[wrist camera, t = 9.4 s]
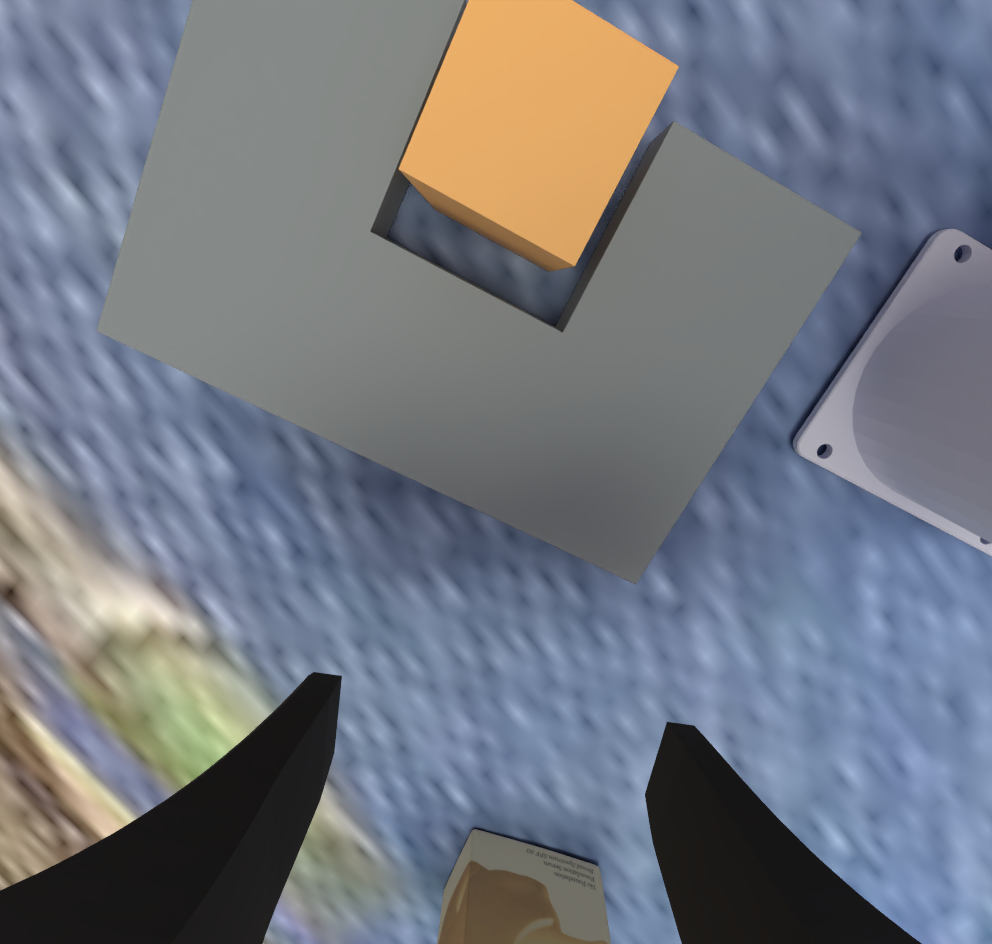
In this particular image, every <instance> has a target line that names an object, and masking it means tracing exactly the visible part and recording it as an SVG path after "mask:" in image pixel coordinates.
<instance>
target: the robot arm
mask: <svg viewBox="0 0 992 944" xmlns="http://www.w3.org/2000/svg"><path fill="white" fill-rule="evenodd" d="M958 247H960V248H961V249H962V256H961V258H960V259H959V260H958V261H957V262H956V260H955V259H954V253H955V251H956V249H957V248H958ZM823 444H826V446H827V448H826V451H825V452H824V453H823V454H822V455H819V456H817V450H818V448H819V447H820V446H821V445H823ZM793 448H794V450H795V452H796V453H797V454H799V455H800V456H802V457H804V458H806V459H808V460H809V461H811V462H813V463H815V464H817V465H819V466H821V467H823V468H825V469H827V470H828V471H830V472H832V473H834V474H836V475H838V476H840V477H842V478H844V479H846V480H847V481H849V482H851V483H853V484H855V485H857V486H859V487H861V488H863V489H865V490H867V491H868V492H870V493H872V494H874V495H876V496H878V497H880V498H882V499H884V500H886V501H887V502H889V503H891V504H893V505H895V506H897V507H899V508H901V509H903V510H905V511H907V512H908V513H910V514H912V515H914V516H916V517H918V518H920V519H922V520H924V521H926V522H927V523H929V524H931V525H933V526H935V527H937V528H939V529H941V530H943V531H945V532H947V533H948V534H950V535H952V536H954V537H956V538H958V539H960V540H962V541H964V542H966V543H967V544H969V545H971V546H973V547H975V548H977V549H979V550H981V551H983V552H985V553H986V554H988V555H990V556H992V250H991V249H989V248H988V247H986V246H984V245H983V244H981V243H980V242H978V241H976V240H975V239H973V238H971V237H970V236H968V235H966V234H965V233H963V232H962V231H960V230H957V229H945V230H940V231H938V232H936V233H934V234H933V235H932V236H931V237H930V238H929V240H928V241H927V243H926V244H925V245H924V247H923V248H922V250H921V251H920V253H919V254H918V256H917V257H916V259H915V260H914V262H913V263H912V265H911V266H910V268H909V269H908V271H907V272H906V273H905V275H904V276H903V278H902V279H901V281H900V282H899V284H898V285H897V287H896V288H895V290H894V291H893V293H892V294H891V296H890V297H889V299H888V300H887V301H886V303H885V304H884V306H883V307H882V309H881V310H880V312H879V313H878V315H877V316H876V318H875V319H874V321H873V322H872V324H871V325H870V327H869V328H868V330H867V331H866V332H865V334H864V335H863V337H862V338H861V340H860V341H859V343H858V344H857V346H856V347H855V349H854V350H853V352H852V353H851V355H850V356H849V358H848V359H847V360H846V362H845V363H844V365H843V366H842V368H841V369H840V371H839V372H838V374H837V375H836V377H835V378H834V380H833V381H832V383H831V384H830V386H829V387H828V389H827V390H826V391H825V393H824V394H823V396H822V397H821V399H820V400H819V402H818V403H817V405H816V406H815V408H814V409H813V411H812V412H811V414H810V415H809V417H808V418H807V419H806V421H805V422H804V424H803V425H802V427H801V428H800V430H799V431H798V433H797V434H796V436H795V438H794V440H793ZM980 537H981V538H982V539H980ZM341 679H342V676H338V675H330V674H323V673H316V672H313V673H312V674H310V675H309V676H307V678H306V679H305V680H304V681H303V682H302V683H301V684H300V685H299V686H298V687H297V688H296V689H295V690H294V692H293V693H292V694H291V695H290V696H289V697H288V698H287V699H286V700H285V701H284V702H283V703H282V704H281V705H280V706H279V707H278V708H277V709H276V710H275V711H274V712H273V713H272V714H271V715H269V716H268V717H267V718H266V719H265V720H264V721H263V722H262V723H261V724H260V725H259V726H258V727H257V728H256V729H254V730H253V731H252V732H251V733H250V734H249V735H248V736H247V737H246V738H245V739H243V740H242V741H241V742H240V743H239V744H238V745H236V746H235V747H234V748H233V749H232V750H230V751H229V752H228V753H227V754H226V755H224V756H223V757H222V758H221V759H220V760H219V761H217V762H216V763H215V764H214V765H212V766H211V767H210V768H209V769H207V770H206V771H205V772H204V773H202V774H201V775H200V776H198V777H197V778H196V779H194V780H193V781H192V782H190V783H189V784H188V785H186V786H185V787H183V788H182V789H181V790H179V791H178V792H176V793H175V794H174V795H172V796H171V797H169V798H168V799H166V800H165V801H164V802H162V803H160V804H159V805H157V806H156V807H154V808H153V809H151V810H150V811H148V812H147V813H145V814H144V815H142V816H141V817H139V818H138V819H136V820H134V821H133V822H131V823H130V824H128V825H126V826H125V827H123V828H121V829H120V830H118V831H116V832H115V833H113V834H111V835H110V836H108V837H106V838H104V839H102V840H101V841H99V842H97V843H95V844H93V845H92V846H90V847H88V848H86V849H84V850H83V851H81V852H79V853H77V854H75V855H73V856H71V857H69V858H68V859H66V860H64V861H62V862H60V863H58V864H56V865H54V866H52V867H50V868H48V869H46V870H44V871H42V872H40V873H38V874H36V875H33V876H31V877H29V878H27V879H25V880H23V881H20V882H18V883H16V884H14V885H12V886H9V887H7V888H5V889H3V890H1V891H0V944H262V943H263V940H264V937H265V934H266V931H267V929H268V926H269V923H270V921H271V918H272V915H273V913H274V910H275V907H276V905H277V903H278V900H279V898H280V895H281V893H282V891H283V888H284V886H285V883H286V881H287V879H288V876H289V874H290V871H291V869H292V867H293V864H294V862H295V859H296V857H297V855H298V852H299V850H300V848H301V845H302V843H303V840H304V838H305V835H306V833H307V831H308V828H309V826H310V823H311V821H312V818H313V816H314V814H315V811H316V809H317V806H318V804H319V801H320V799H321V795H322V792H323V789H324V785H325V782H326V779H327V775H328V772H329V769H330V765H331V762H332V758H333V755H334V749H335V739H336V729H337V719H338V709H339V699H340V689H341ZM645 797H646V804H647V810H648V817H649V823H650V829H651V834H652V840H653V845H654V848H655V852H656V856H657V859H658V863H659V866H660V870H661V873H662V877H663V881H664V884H665V887H666V891H667V894H668V898H669V901H670V905H671V908H672V911H673V915H674V918H675V922H676V925H677V929H678V932H679V935H680V939H681V942H682V944H921V943H920V942H919V941H917V940H916V939H915V938H913V937H912V936H911V935H909V934H908V933H907V932H905V931H904V930H903V929H902V928H900V927H899V926H898V925H897V924H895V923H894V922H893V921H891V920H890V919H889V918H888V917H886V916H885V915H884V914H883V913H881V912H880V911H879V910H878V909H876V908H875V907H874V906H873V905H871V904H870V903H869V902H868V901H867V900H865V899H864V898H863V897H862V896H861V895H859V894H858V893H857V892H856V891H855V890H853V889H852V888H851V887H850V886H849V885H848V884H847V883H846V882H844V881H843V880H842V879H841V878H840V877H839V876H838V875H837V874H835V873H834V872H833V871H832V870H831V869H830V868H829V867H828V866H826V865H825V864H824V863H823V862H822V861H821V860H820V859H819V858H818V857H817V856H816V855H814V854H813V853H812V852H811V851H810V850H809V849H808V848H807V847H806V846H805V845H804V844H803V843H802V842H801V841H800V840H799V839H798V838H797V837H796V836H795V835H794V834H793V833H792V832H791V831H790V830H789V829H788V828H787V827H786V826H785V825H784V824H783V823H782V822H781V821H780V820H779V819H778V818H777V817H776V816H775V815H774V814H773V813H772V811H771V810H770V809H769V808H768V807H767V806H766V805H765V804H764V803H763V802H762V801H761V800H760V799H759V798H758V796H757V795H756V794H755V793H754V792H753V791H752V790H751V789H750V788H749V787H748V785H747V784H746V783H745V782H744V781H743V780H742V779H741V778H740V777H739V775H738V774H737V773H736V772H735V771H734V770H733V769H732V767H731V766H730V765H729V764H728V763H727V762H726V761H725V760H724V758H723V757H722V756H721V755H720V754H719V753H718V752H717V750H716V749H715V748H714V747H713V746H712V745H711V744H710V742H709V741H708V740H707V739H706V738H705V737H704V736H703V735H702V734H701V733H700V731H699V730H698V729H697V728H696V727H695V726H693V725H686V724H679V723H671V722H667V724H666V727H665V730H664V734H663V737H662V740H661V744H660V747H659V750H658V753H657V757H656V760H655V763H654V767H653V770H652V773H651V776H650V780H649V783H648V786H647V790H646V793H645Z"/></svg>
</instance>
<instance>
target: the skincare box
mask: <svg viewBox="0 0 992 944" xmlns="http://www.w3.org/2000/svg"><path fill="white" fill-rule="evenodd" d="M437 944H611V942H610V935H609V927H608V920H607V913H606V906H605V899H604V893H603V886H602V879H601V872H600V869H599V867H598V866H596V865H594V864H591V863H588V862H585V861H581V860H578V859H575V858H572V857H569V856H566V855H563V854H560V853H556V852H553V851H550V850H547V849H543V848H540V847H537V846H534V845H530V844H527V843H523V842H520V841H516V840H513V839H509V838H506V837H502V836H498V835H495V834H492V833H488V832H484V831H481V830H477V829H474V830H472V831H471V833H470V836H469V838H468V840H467V842H466V844H465V846H464V848H463V849H462V852H461V854H460V856H459V858H458V860H457V862H456V864H455V866H454V869H453V871H452V873H451V875H450V877H449V880H448V882H447V884H446V887H445V889H444V892H443V900H442V909H441V917H440V926H439V934H438V941H437Z"/></svg>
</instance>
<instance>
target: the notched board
mask: <svg viewBox="0 0 992 944" xmlns="http://www.w3.org/2000/svg"><path fill="white" fill-rule="evenodd" d="M466 6H467V4H466V0H193V1H192V4H191V8H190V11H189V15H188V18H187V22H186V25H185V29H184V32H183V35H182V39H181V42H180V46H179V49H178V53H177V56H176V60H175V63H174V66H173V70H172V73H171V77H170V80H169V84H168V87H167V91H166V94H165V97H164V101H163V104H162V108H161V111H160V115H159V118H158V122H157V125H156V128H155V132H154V135H153V139H152V142H151V146H150V149H149V153H148V156H147V159H146V163H145V166H144V170H143V173H142V177H141V180H140V183H139V187H138V190H137V194H136V197H135V201H134V204H133V208H132V211H131V214H130V218H129V221H128V225H127V228H126V232H125V235H124V239H123V242H122V245H121V249H120V252H119V256H118V259H117V263H116V266H115V270H114V273H113V276H112V280H111V283H110V287H109V290H108V294H107V297H106V301H105V304H104V307H103V311H102V314H101V318H100V321H99V325H98V328H97V332H100V333H102V334H104V335H106V336H108V337H110V338H112V339H114V340H117V341H119V342H121V343H123V344H125V345H127V346H129V347H131V348H134V349H136V350H138V351H140V352H142V353H144V354H146V355H148V356H151V357H153V358H155V359H157V360H159V361H161V362H163V363H166V364H168V365H170V366H172V367H174V368H176V369H178V370H180V371H183V372H185V373H187V374H189V375H191V376H193V377H195V378H197V379H200V380H202V381H204V382H206V383H208V384H210V385H212V386H214V387H217V388H219V389H221V390H223V391H225V392H227V393H229V394H231V395H234V396H236V397H238V398H240V399H242V400H244V401H246V402H248V403H251V404H253V405H255V406H257V407H259V408H261V409H263V410H265V411H268V412H270V413H272V414H274V415H276V416H278V417H280V418H283V419H285V420H287V421H289V422H291V423H293V424H295V425H297V426H300V427H302V428H304V429H306V430H308V431H310V432H312V433H314V434H317V435H319V436H321V437H323V438H325V439H327V440H329V441H331V442H334V443H336V444H338V445H340V446H342V447H344V448H346V449H348V450H351V451H353V452H355V453H357V454H359V455H361V456H363V457H365V458H368V459H370V460H372V461H374V462H376V463H378V464H380V465H383V466H385V467H387V468H389V469H391V470H393V471H395V472H397V473H400V474H402V475H404V476H406V477H408V478H410V479H412V480H414V481H417V482H419V483H421V484H423V485H425V486H427V487H429V488H431V489H434V490H436V491H438V492H440V493H442V494H444V495H446V496H448V497H451V498H453V499H455V500H457V501H459V502H461V503H463V504H465V505H468V506H470V507H472V508H474V509H476V510H478V511H480V512H482V513H485V514H487V515H489V516H491V517H493V518H495V519H497V520H500V521H502V522H504V523H506V524H508V525H510V526H512V527H514V528H517V529H519V530H521V531H523V532H525V533H527V534H529V535H531V536H534V537H536V538H538V539H540V540H542V541H544V542H546V543H548V544H551V545H553V546H555V547H557V548H559V549H561V550H563V551H565V552H568V553H570V554H572V555H574V556H576V557H578V558H580V559H582V560H585V561H587V562H589V563H591V564H593V565H595V566H597V567H599V568H602V569H604V570H606V571H608V572H610V573H612V574H614V575H617V576H619V577H621V578H623V579H625V580H627V581H629V582H631V583H634V584H636V583H637V582H638V580H639V578H640V577H641V575H642V574H643V572H644V571H645V569H646V568H647V566H648V565H649V563H650V561H651V560H652V558H653V557H654V555H655V554H656V552H657V551H658V549H659V547H660V546H661V544H662V543H663V541H664V540H665V538H666V537H667V535H668V533H669V532H670V530H671V529H672V527H673V526H674V524H675V523H676V521H677V519H678V518H679V516H680V515H681V513H682V512H683V510H684V509H685V507H686V506H687V504H688V502H689V501H690V499H691V498H692V496H693V495H694V493H695V492H696V490H697V488H698V487H699V485H700V484H701V482H702V481H703V479H704V478H705V476H706V474H707V473H708V471H709V470H710V468H711V467H712V465H713V464H714V462H715V460H716V459H717V457H718V456H719V454H720V453H721V451H722V450H723V448H724V446H725V445H726V443H727V442H728V440H729V439H730V437H731V436H732V434H733V433H734V431H735V429H736V428H737V426H738V425H739V423H740V422H741V420H742V419H743V417H744V415H745V414H746V412H747V411H748V409H749V408H750V406H751V405H752V403H753V401H754V400H755V398H756V397H757V395H758V394H759V392H760V391H761V389H762V387H763V386H764V384H765V383H766V381H767V380H768V378H769V377H770V375H771V374H772V372H773V370H774V369H775V367H776V366H777V364H778V363H779V361H780V360H781V358H782V356H783V355H784V353H785V352H786V350H787V349H788V347H789V346H790V344H791V342H792V341H793V339H794V338H795V336H796V335H797V333H798V332H799V330H800V328H801V327H802V325H803V324H804V322H805V321H806V319H807V318H808V316H809V315H810V313H811V311H812V310H813V308H814V307H815V305H816V304H817V302H818V301H819V299H820V297H821V296H822V294H823V293H824V291H825V290H826V288H827V287H828V285H829V283H830V282H831V280H832V279H833V277H834V276H835V274H836V273H837V271H838V269H839V268H840V266H841V265H842V263H843V262H844V260H845V259H846V257H847V256H848V254H849V252H850V251H851V249H852V248H853V246H854V245H855V243H856V242H857V240H858V238H859V237H860V235H861V234H862V233H861V232H860V231H858V230H856V229H855V228H853V227H851V226H850V225H848V224H846V223H845V222H843V221H841V220H840V219H838V218H836V217H835V216H833V215H831V214H829V213H828V212H826V211H824V210H823V209H821V208H819V207H818V206H816V205H814V204H813V203H811V202H809V201H808V200H806V199H804V198H803V197H801V196H799V195H798V194H796V193H794V192H792V191H791V190H789V189H787V188H786V187H784V186H782V185H781V184H779V183H777V182H776V181H774V180H772V179H771V178H769V177H767V176H766V175H764V174H762V173H761V172H759V171H757V170H755V169H754V168H752V167H750V166H749V165H747V164H745V163H744V162H742V161H740V160H739V159H737V158H735V157H734V156H732V155H730V154H729V153H727V152H725V151H724V150H722V149H720V148H718V147H717V146H715V145H713V144H712V143H710V142H708V141H707V140H705V139H703V138H702V137H700V136H698V135H697V134H695V133H693V132H692V131H690V130H688V129H687V128H685V127H683V126H681V125H680V124H678V123H676V122H675V121H674V122H672V123H671V124H670V125H669V126H668V127H667V128H666V129H665V130H664V131H663V132H662V133H661V134H660V135H658V136H657V137H656V138H655V139H654V140H653V141H652V142H651V143H650V145H649V147H648V149H647V151H646V153H645V155H644V157H643V158H642V160H641V162H640V164H639V166H638V168H637V170H636V172H635V174H634V176H633V178H632V180H631V182H630V183H629V185H628V187H627V189H626V191H625V193H624V195H623V197H622V199H621V201H620V203H619V205H618V207H617V208H616V210H615V212H614V214H613V216H612V218H611V220H610V222H609V224H608V226H607V228H606V230H605V232H604V233H603V235H602V237H601V239H600V241H599V243H598V245H597V247H596V249H595V251H594V253H593V255H592V256H591V258H590V260H589V262H588V264H587V266H586V268H585V270H584V272H583V274H582V276H581V278H580V280H579V281H578V283H577V285H576V287H575V289H574V291H573V293H572V295H571V297H570V299H569V301H568V303H567V305H566V306H565V308H564V310H563V312H562V314H561V316H560V318H559V320H558V322H557V324H556V326H553V325H551V324H549V323H547V322H546V321H544V320H542V319H540V318H538V317H536V316H534V315H532V314H530V313H528V312H527V311H525V310H523V309H521V308H519V307H517V306H515V305H513V304H511V303H509V302H507V301H506V300H504V299H502V298H500V297H498V296H496V295H494V294H492V293H490V292H488V291H487V290H485V289H483V288H481V287H479V286H477V285H475V284H473V283H471V282H469V281H467V280H466V279H464V278H462V277H460V276H458V275H456V274H454V273H452V272H450V271H448V270H447V269H445V268H443V267H441V266H439V265H437V264H435V263H433V262H431V261H429V260H428V259H426V258H424V257H422V256H420V255H418V254H416V253H414V252H412V251H410V250H408V249H407V248H405V247H403V246H401V245H399V244H397V243H395V242H393V241H391V240H389V239H388V238H387V236H388V234H389V231H390V229H391V227H392V224H393V222H394V219H395V217H396V215H397V212H398V210H399V207H400V205H401V203H402V200H403V198H404V195H405V193H406V191H407V188H408V186H409V183H410V181H409V180H408V179H407V178H406V177H405V176H404V175H403V173H402V172H401V171H400V170H399V167H400V165H401V162H402V160H403V157H404V155H405V152H406V150H407V148H408V145H409V143H410V140H411V138H412V136H413V133H414V131H415V128H416V126H417V124H418V121H419V119H420V116H421V114H422V112H423V109H424V107H425V104H426V102H427V100H428V97H429V95H430V92H431V90H432V88H433V85H434V83H435V80H436V78H437V76H438V73H439V71H440V68H441V66H442V63H443V61H444V59H445V56H446V54H447V51H448V49H449V47H450V44H451V42H452V39H453V37H454V35H455V32H456V30H457V27H458V25H459V23H460V20H461V18H462V15H463V13H464V11H465V8H466Z"/></svg>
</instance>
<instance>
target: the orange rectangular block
mask: <svg viewBox="0 0 992 944" xmlns="http://www.w3.org/2000/svg"><path fill="white" fill-rule="evenodd" d="M678 68H679V66H677V65H676V64H674V63H673V62H671V61H669V60H668V59H666V58H665V57H663V56H661V55H660V54H658V53H656V52H655V51H653V50H652V49H650V48H648V47H647V46H645V45H644V44H642V43H640V42H639V41H637V40H635V39H634V38H632V37H631V36H629V35H627V34H626V33H624V32H622V31H621V30H619V29H618V28H616V27H614V26H613V25H611V24H610V23H608V22H606V21H605V20H603V19H601V18H600V17H598V16H597V15H595V14H593V13H592V12H590V11H589V10H587V9H585V8H584V7H582V6H580V5H579V4H577V3H576V2H574V1H572V0H469V1H468V3H467V6H466V8H465V11H464V13H463V15H462V18H461V20H460V23H459V25H458V27H457V30H456V32H455V35H454V37H453V39H452V42H451V44H450V47H449V49H448V51H447V54H446V56H445V59H444V61H443V63H442V66H441V68H440V71H439V73H438V76H437V78H436V80H435V83H434V85H433V88H432V90H431V92H430V95H429V97H428V100H427V102H426V104H425V107H424V109H423V112H422V114H421V116H420V119H419V121H418V124H417V126H416V128H415V131H414V133H413V136H412V138H411V140H410V143H409V145H408V148H407V150H406V152H405V155H404V157H403V160H402V162H401V165H400V167H399V170H400V171H401V172H402V173H403V175H404V176H405V177H406V178H407V179H408V180H409V181H410V182H411V183H412V185H413V186H414V187H415V188H416V189H417V190H418V191H419V192H420V193H421V194H422V196H423V197H424V198H425V199H426V200H427V201H428V202H429V203H430V204H431V206H432V207H433V208H434V209H435V210H437V211H438V212H440V213H442V214H444V215H446V216H448V217H449V218H451V219H453V220H455V221H457V222H459V223H460V224H462V225H464V226H466V227H468V228H470V229H471V230H473V231H475V232H477V233H479V234H481V235H482V236H484V237H486V238H488V239H490V240H492V241H493V242H495V243H497V244H499V245H501V246H503V247H504V248H506V249H508V250H510V251H512V252H514V253H515V254H517V255H519V256H521V257H523V258H525V259H526V260H528V261H530V262H532V263H534V264H536V265H537V266H539V267H541V268H543V269H545V270H546V271H548V272H550V271H555V270H559V269H564V268H569V267H574V266H575V265H576V263H577V261H578V259H579V257H580V255H581V253H582V252H583V250H584V248H585V246H586V244H587V242H588V240H589V238H590V236H591V234H592V232H593V230H594V229H595V227H596V225H597V223H598V221H599V219H600V217H601V215H602V213H603V211H604V209H605V207H606V206H607V204H608V202H609V200H610V198H611V196H612V194H613V192H614V190H615V188H616V186H617V184H618V183H619V181H620V179H621V177H622V175H623V173H624V171H625V169H626V167H627V165H628V163H629V161H630V160H631V158H632V156H633V154H634V152H635V150H636V148H637V146H638V144H639V142H640V140H641V138H642V137H643V135H644V133H645V131H646V129H647V127H648V125H649V123H650V121H651V119H652V117H653V115H654V114H655V112H656V110H657V108H658V106H659V104H660V102H661V100H662V98H663V96H664V94H665V92H666V91H667V89H668V87H669V85H670V83H671V81H672V79H673V77H674V75H675V73H676V71H677V69H678Z"/></svg>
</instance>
